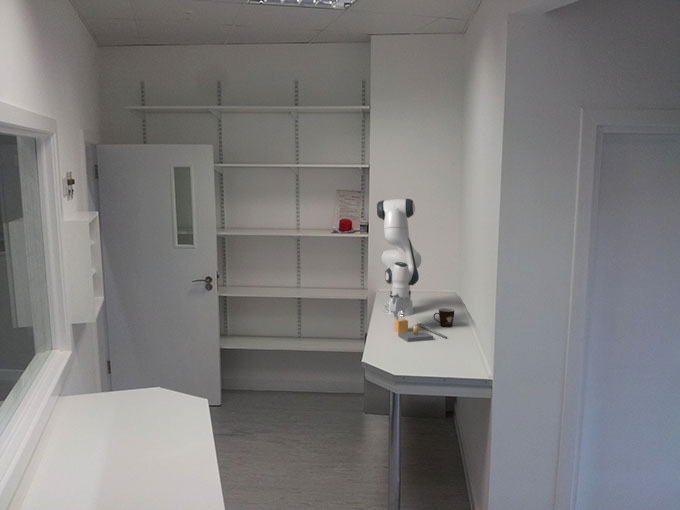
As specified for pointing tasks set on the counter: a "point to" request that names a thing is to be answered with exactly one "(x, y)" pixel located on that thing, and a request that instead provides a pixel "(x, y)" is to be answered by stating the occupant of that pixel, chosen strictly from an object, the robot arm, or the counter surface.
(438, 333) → the caliper
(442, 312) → the coffee mug
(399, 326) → the tan wooden cube
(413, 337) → the flat gray plate
